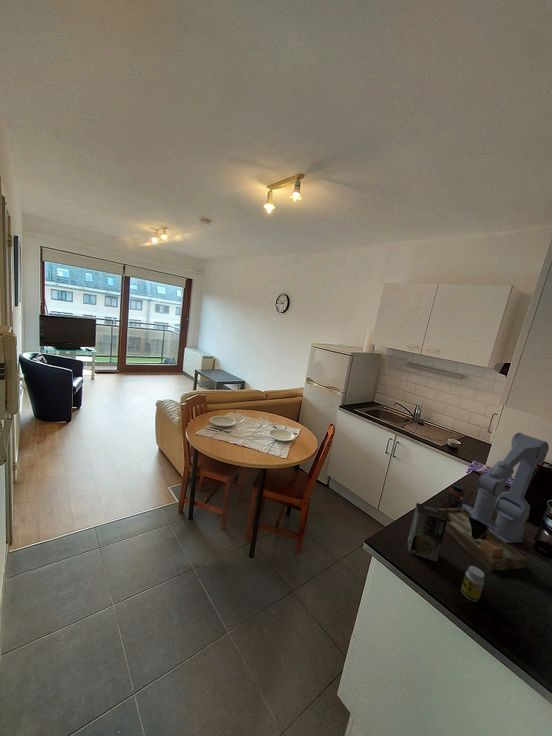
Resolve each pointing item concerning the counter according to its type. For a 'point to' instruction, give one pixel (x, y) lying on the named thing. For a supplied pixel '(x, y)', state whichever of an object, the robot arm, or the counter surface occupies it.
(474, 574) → the supplement bottle
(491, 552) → the block
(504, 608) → the counter surface
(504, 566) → the trap box
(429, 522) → the coffee box
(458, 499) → the supplement bottle
